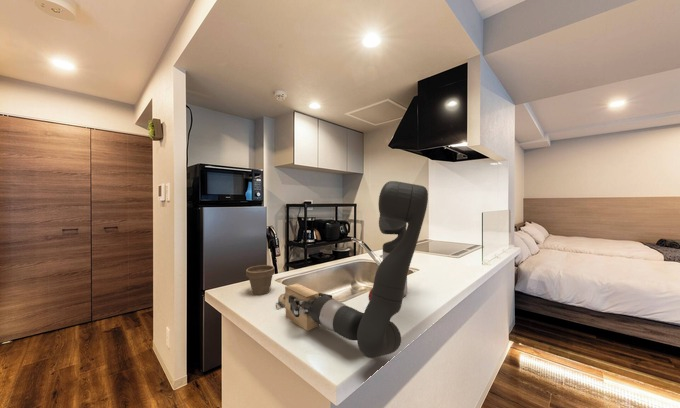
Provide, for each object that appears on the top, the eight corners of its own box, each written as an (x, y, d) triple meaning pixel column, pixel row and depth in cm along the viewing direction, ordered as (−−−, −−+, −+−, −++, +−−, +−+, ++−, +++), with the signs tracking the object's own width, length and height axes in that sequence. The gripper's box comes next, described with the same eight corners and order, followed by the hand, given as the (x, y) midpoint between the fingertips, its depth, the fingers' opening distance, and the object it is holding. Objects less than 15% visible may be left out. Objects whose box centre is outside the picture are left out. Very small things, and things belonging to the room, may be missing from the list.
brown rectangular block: (297, 312, 85) (296, 283, 85) (319, 325, 76) (318, 292, 76) (285, 317, 82) (285, 286, 82) (307, 330, 73) (306, 296, 73)
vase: (290, 302, 94) (290, 286, 94) (292, 309, 89) (292, 292, 89) (275, 303, 92) (275, 288, 92) (277, 311, 87) (277, 294, 87)
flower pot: (247, 289, 108) (246, 265, 108) (274, 286, 112) (273, 263, 112) (245, 299, 97) (245, 273, 97) (275, 295, 101) (275, 270, 101)
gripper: (349, 293, 73) (314, 279, 86) (309, 308, 63) (276, 290, 76) (349, 318, 73) (314, 301, 86) (310, 337, 64) (276, 315, 76)
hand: (296, 296), depth 81 cm, fingers closed on brown rectangular block, 4 cm apart
